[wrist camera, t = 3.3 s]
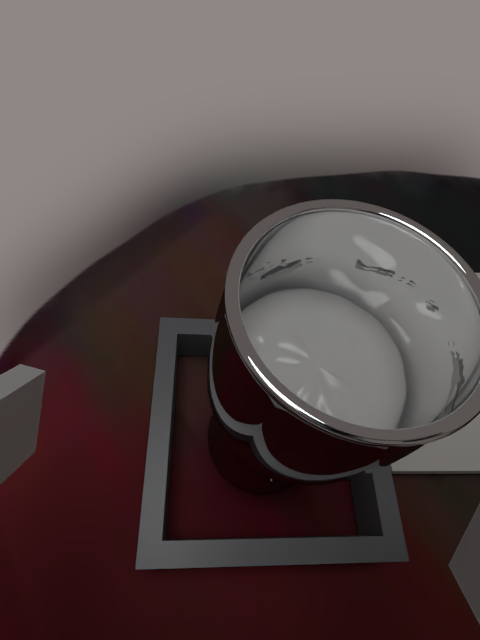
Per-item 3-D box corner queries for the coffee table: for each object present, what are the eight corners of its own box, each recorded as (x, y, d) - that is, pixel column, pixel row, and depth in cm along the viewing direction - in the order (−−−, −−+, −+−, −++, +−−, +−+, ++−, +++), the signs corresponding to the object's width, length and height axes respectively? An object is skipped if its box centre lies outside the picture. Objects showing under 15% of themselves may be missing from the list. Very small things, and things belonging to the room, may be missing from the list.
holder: (344, 346, 25) (361, 325, 23) (379, 556, 19) (409, 561, 17) (163, 340, 24) (160, 317, 21) (143, 563, 18) (135, 569, 15)
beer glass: (174, 433, 21) (149, 280, 8) (260, 358, 24) (342, 158, 11) (260, 535, 19) (407, 549, 6) (342, 441, 22) (561, 315, 9)
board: (536, 286, 30) (549, 277, 29) (628, 473, 23) (648, 470, 22) (344, 275, 28) (350, 265, 27) (382, 473, 21) (392, 471, 20)
